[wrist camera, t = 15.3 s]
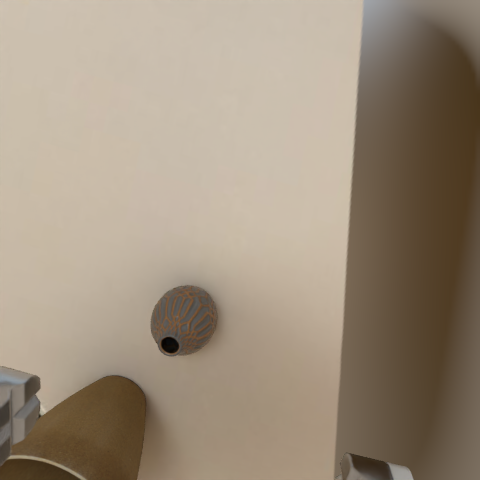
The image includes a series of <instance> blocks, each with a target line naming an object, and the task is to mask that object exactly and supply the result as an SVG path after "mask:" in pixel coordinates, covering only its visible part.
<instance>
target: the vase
mask: <svg viewBox="0 0 480 480" xmlns="http://www.w3.org/2000/svg"><path fill="white" fill-rule="evenodd" d="M216 322H217V312H216V307H215V304H214V302H213V300H212V299H211V297H210V296H209V295H208V294H207V293H206V292H205V291H203V290H202V289H200V288H198V287H194V286H180V287H177V288H174V289H172V290H170V291H168V292H167V293H166V294H165V295H164V296H163V297H162V298H161V299H160V300H159V301H158V303H157V304H156V306H155V308H154V310H153V313H152V317H151V332H152V335H153V338H154V340H155V341H156V343H157V344H158V347H159V350H160V351H161V352H162V353H163V354H165V355H167V356H176V355H189V354H192V353H194V352H196V351H198V350H199V349H201V348H202V347H203V346H204V345H205V344H206V343H207V342H208V341H209V340H210V338H211V337H212V335H213V333H214V330H215V327H216Z"/></svg>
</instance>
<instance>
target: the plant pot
mask: <svg viewBox="0 0 480 480" xmlns="http://www.w3.org/2000/svg"><path fill="white" fill-rule="evenodd" d="M145 416H146V401H145V396H144V394H143V392H142V391H141V389H140V388H139V387H138V386H137V385H136V384H135V383H134V382H132V381H131V380H129V379H126V378H124V377H120V376H107V377H104V378H102V379H100V380H98V381H96V382H94V383H92V384H90V385H89V386H87V387H85V388H83V389H82V390H80V391H78V392H77V393H75V394H73V395H72V396H70V397H69V398H67V399H66V400H64V401H63V402H61V403H60V404H58V405H57V406H55V407H54V408H53V409H51V410H50V411H48V412H47V413H46V414H44V415H43V416H42V417H40V418H39V419H38V420H37V421H36V423H35V425H34V427H33V429H32V431H31V432H30V433H29V434H28V436H27V437H26V438H25V439H24V440H23V441H20V442H18V443H16V444H14V445H12V452H11V455H10V457H9V458H8V459H7V460H6V461H5V462H4V463H3V465H2V466H1V467H0V480H137V476H138V471H139V465H140V460H141V454H142V447H143V440H144V430H145Z"/></svg>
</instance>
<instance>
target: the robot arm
mask: <svg viewBox="0 0 480 480" xmlns="http://www.w3.org/2000/svg"><path fill="white" fill-rule="evenodd" d="M39 389H40V378H39V377H38V376H36V375H32V374H29V373H25V372H22V371H18V370H15V369H11V368H7V367H4V366H0V467H1V466H2V465H3V463H4V462H5V461H6V460H7V459H8V458H9V457H10V455H11V452H12V445H14V444H16V443H18V442H20V441H23V440H24V439H25V438H26V437H27V436H28V434H29V433H30V432H31V431H32V429H33V427H34V425H35V423H36V421H37V419H38V416H39V412H40V401H39V399H38V398H37V396H36V395H35V394H36V393H37V392H38V391H39ZM340 466H341V474H340V475H339V476H337V477H336V478H335V480H413V477H412V474H411V471H410V470H409V469H408V468H407V467H406V466H401V465H397V464H393V463H388V462H383V461H379V460H375V459H371V458H367V457H363V456H358V455H354V454H350V453H345V454H344V455H343V457H342V460H341V463H340Z"/></svg>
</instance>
